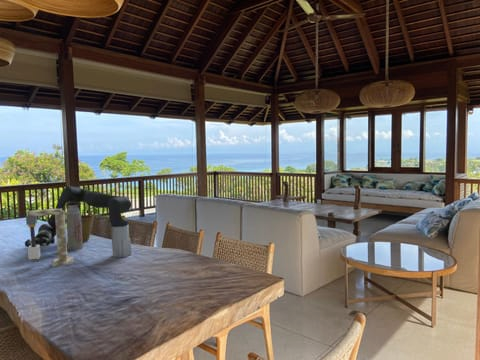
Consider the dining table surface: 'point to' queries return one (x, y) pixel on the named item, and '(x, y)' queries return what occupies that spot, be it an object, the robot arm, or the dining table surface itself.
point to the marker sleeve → (34, 252)
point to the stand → (57, 234)
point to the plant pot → (86, 226)
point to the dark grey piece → (32, 231)
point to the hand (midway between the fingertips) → (37, 245)
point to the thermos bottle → (74, 227)
